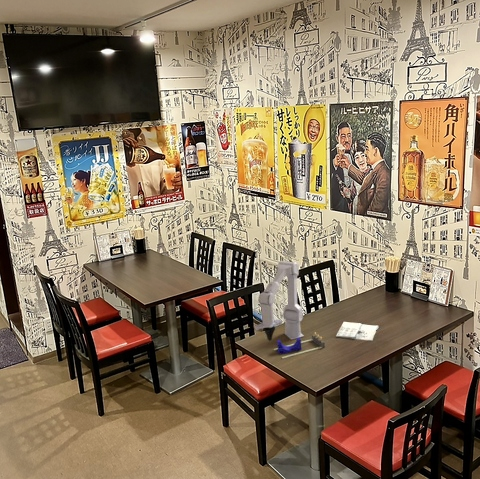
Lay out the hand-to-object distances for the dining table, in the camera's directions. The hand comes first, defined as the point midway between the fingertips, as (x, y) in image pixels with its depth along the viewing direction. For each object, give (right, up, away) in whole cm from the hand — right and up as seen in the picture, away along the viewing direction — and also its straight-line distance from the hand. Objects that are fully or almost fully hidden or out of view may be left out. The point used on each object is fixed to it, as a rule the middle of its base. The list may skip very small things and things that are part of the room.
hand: (269, 339), depth 253 cm
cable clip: (+11, -7, +6) cm, 15 cm away
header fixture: (+16, -6, +7) cm, 19 cm away
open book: (+50, 0, +20) cm, 54 cm away
